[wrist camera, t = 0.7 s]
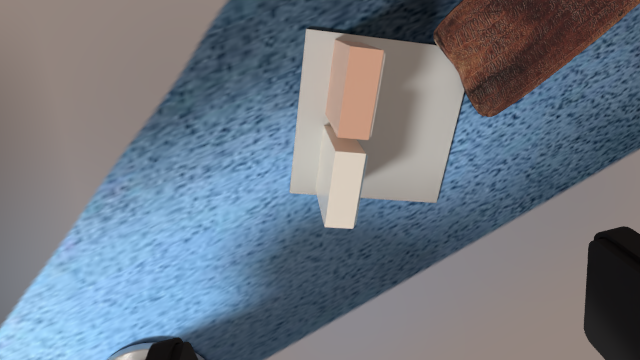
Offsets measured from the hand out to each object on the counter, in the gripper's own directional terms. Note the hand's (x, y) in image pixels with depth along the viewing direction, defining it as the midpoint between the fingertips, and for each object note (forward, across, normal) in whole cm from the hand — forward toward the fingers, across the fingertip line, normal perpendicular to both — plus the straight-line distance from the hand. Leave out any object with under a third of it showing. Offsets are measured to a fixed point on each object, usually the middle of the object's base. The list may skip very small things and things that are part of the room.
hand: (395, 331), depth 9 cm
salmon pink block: (+26, -3, 0) cm, 27 cm away
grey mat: (+27, -5, +4) cm, 28 cm away
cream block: (+26, 0, +6) cm, 27 cm away
